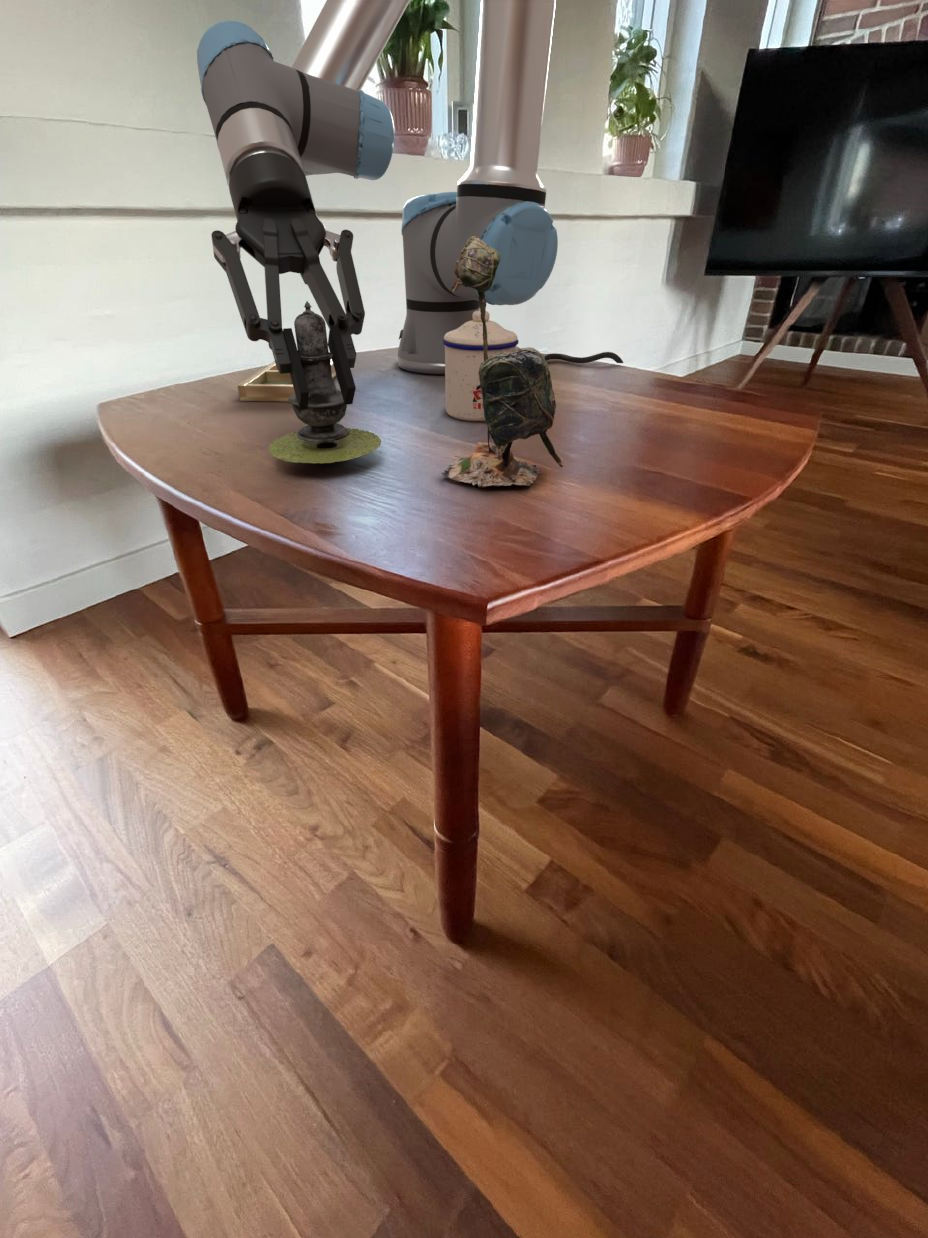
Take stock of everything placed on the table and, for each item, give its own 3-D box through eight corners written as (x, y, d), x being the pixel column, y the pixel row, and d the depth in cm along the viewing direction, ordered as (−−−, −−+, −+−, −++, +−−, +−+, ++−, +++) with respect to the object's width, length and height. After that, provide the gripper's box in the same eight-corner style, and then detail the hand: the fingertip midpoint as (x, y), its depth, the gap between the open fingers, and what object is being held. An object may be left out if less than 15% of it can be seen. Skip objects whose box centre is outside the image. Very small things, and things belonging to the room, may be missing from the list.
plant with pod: (531, 507, 54) (549, 239, 43) (429, 479, 59) (421, 235, 48) (574, 479, 59) (599, 235, 48) (477, 456, 65) (479, 232, 54)
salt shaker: (331, 421, 66) (316, 295, 59) (364, 434, 62) (353, 301, 55) (282, 433, 62) (260, 300, 55) (314, 447, 59) (296, 307, 52)
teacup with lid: (477, 427, 73) (478, 319, 67) (429, 411, 79) (426, 310, 72) (545, 409, 80) (552, 309, 73) (496, 395, 85) (499, 302, 79)
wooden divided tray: (339, 371, 98) (337, 358, 97) (309, 401, 83) (307, 386, 82) (280, 371, 98) (278, 357, 97) (240, 400, 83) (237, 385, 82)
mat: (304, 491, 57) (301, 470, 56) (253, 459, 64) (250, 440, 63) (404, 463, 63) (402, 445, 62) (347, 437, 70) (345, 420, 69)
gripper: (347, 215, 66) (405, 410, 63) (182, 215, 61) (236, 430, 57) (355, 150, 59) (421, 366, 56) (169, 143, 54) (230, 383, 50)
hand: (327, 398), depth 57 cm, fingers closed on salt shaker, 4 cm apart
